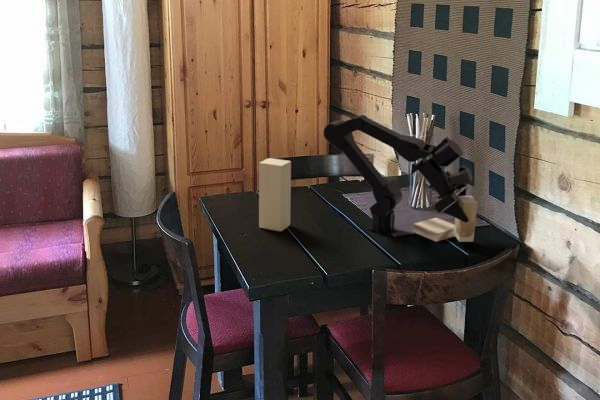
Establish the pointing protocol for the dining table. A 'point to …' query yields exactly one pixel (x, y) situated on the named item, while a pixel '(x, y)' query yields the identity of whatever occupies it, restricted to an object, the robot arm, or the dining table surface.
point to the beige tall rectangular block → (274, 194)
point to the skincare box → (466, 230)
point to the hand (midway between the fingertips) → (470, 217)
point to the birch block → (434, 229)
